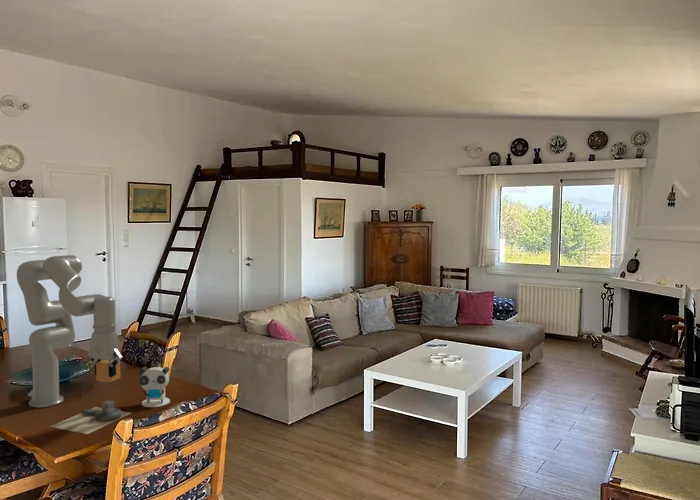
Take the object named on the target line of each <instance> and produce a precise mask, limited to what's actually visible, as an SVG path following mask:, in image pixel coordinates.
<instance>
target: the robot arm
mask: <svg viewBox="0 0 700 500" xmlns="http://www.w3.org/2000/svg"><path fill="white" fill-rule="evenodd" d="M82 268H83V264H82V261H81V259H80V258H79V257H78V256H76V255H72V254H70V255H54V256H50V257H47V258H45V259H40V260H39V259H36V260H29V261H25V262H22V263H20V265H19V266H18V267H17V270H16V280H17V284H18V286H19V289H20V290H21V291H22V295H23V298H24V303H25V308H26V313H27V316H28V320H29V323H30V324H31V325H32V326H37V327H38V326H46V325H51V324H55V325H54V326H47V327H42V328H38V329H35V330H34V331H33V332H31V334H30V335H29V337H28V344H29V348H30V353H31V359H32V362H31V364H32V365H31V367H32V390H30V392H28V393H27V396H28V397H31V399H30V400H29V402H28V405H29V407H31V408H48V407H52V406H56V405H59V404H61V403H63V401H64V396H63V395H60V370H59V369H60V366H59V363H60V362H59V358H58V356H57V354H56V353H55V352H54V350H56V349H62V348H65V347H68V346H71V345H73V343H74V342H75V339H76V332H75V327H74V323H73V318H72V317H85V316H88V315H93V325H92V329H93V332H92V333H91V336H90V337H91V338H90V342H89V343H90V345H89V352H88V353H87V355H88V357H89V359H90V360H91V361H92V364H93V365H94V376H96V363H97V362H100V361H103V360H108V362H109V365H110V367H109V377H113V376H115V375H116V365H117V364H118V363H119V361H120V362H121V360H122V359H123V356H122V355H121V353H120V352H119V351H120V349H119V339H118V333H117V332H116V301H115V300H116V299H115V298H114V297H112V296H105V295H103V294H99V293H98V294H97V293H96V294H87V295H80V296H75V294H73V292H74V291H75V290H77V289H78V288H79V287H80V285H81V283H82V277H81V275H80V273H81V271H82V270H83V269H82ZM46 280H51V281H52V282H53V283H54V284H55V285H56V286H57V287H58V300H57V299H56V300H55V299H54V300H50V299H49V296H48V291H47V289H46V288H45V287H44V286H43V285H42V283H40V282H39V281H46ZM112 360H113V362H112Z"/></svg>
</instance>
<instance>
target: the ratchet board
mask: <svg viewBox="0 0 700 500" xmlns="http://www.w3.org/2000/svg"><path fill="white" fill-rule="evenodd" d="M131 414H132V412H128V411H122V410H121V408H116V407H115V401H114V400H106V401H103V402H102V403H101V407H98V406H95V407H93V408H84V409H82V410H81V413H78V414H77V415H76V414H75V415H74V416H71V417H69V418H67V419H64V420H62V421H59V422H58V423H55V424H52V425H50V426H49V428H53V429H58V430H64V431H69V432H74V433H78V434H84V435H89V434H91V433H94V432H95V431H97V430H100V429H102V428H104V427H105V426H108V425H110V424H112V423H114V422H116V421H118V420H121V419H124V417H127V416H129V415H131Z"/></svg>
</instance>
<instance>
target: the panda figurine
mask: <svg viewBox="0 0 700 500" xmlns="http://www.w3.org/2000/svg"><path fill="white" fill-rule="evenodd" d="M169 371H170V367H169V366H166V367H160V366H159V367H158V366H157V367H156V366H154V367H150V368H148V367H147V366H143V367H142V368H140V369H139V371H138V374H139V375H140V376H141V377H140V379H139V384H140V386H141V387H142V389H144V391H143V394H144V395H145V396H146V399H144V400H143V401H142V402H141V406H143V407H145V408H146V407H147V408H159V407H163V406H166V405H169V404H170V403H171V400H170V399H171V398H169V397H166V387H167V386H168V385H169V382H170V376H169Z"/></svg>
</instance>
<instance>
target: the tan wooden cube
mask: <svg viewBox="0 0 700 500" xmlns="http://www.w3.org/2000/svg"><path fill="white" fill-rule="evenodd" d="M112 362H113V360H112ZM109 367H110V365H109V362H108V360H101V361H100V362H97V363H96V375H95V376H96V377H95V378H96V382H102V383H103V382H104V383H112V382H113V381H117V380H119V379H121V360H120V361H119V363H118V364H117V365H116V375H115V376H113V377H109Z"/></svg>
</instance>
